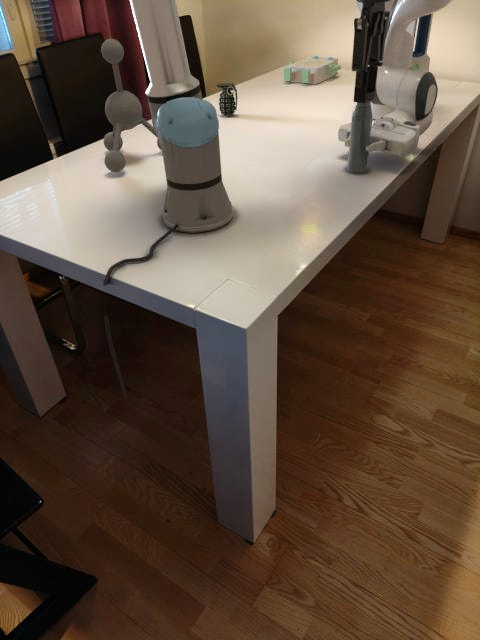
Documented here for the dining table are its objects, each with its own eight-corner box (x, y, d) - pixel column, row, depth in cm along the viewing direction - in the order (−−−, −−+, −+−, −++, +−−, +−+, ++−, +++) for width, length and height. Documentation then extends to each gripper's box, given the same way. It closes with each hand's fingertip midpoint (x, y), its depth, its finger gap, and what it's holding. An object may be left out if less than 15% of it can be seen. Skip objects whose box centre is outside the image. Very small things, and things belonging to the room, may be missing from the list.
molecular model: (189, 163, 134) (174, 38, 115) (109, 178, 128) (80, 49, 110) (167, 139, 151) (151, 28, 133) (95, 151, 145) (69, 36, 127)
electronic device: (396, 96, 178) (410, -2, 160) (386, 91, 184) (398, -4, 166) (427, 92, 181) (443, -5, 162) (416, 87, 186) (431, -6, 168)
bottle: (349, 165, 127) (356, 91, 116) (368, 167, 126) (376, 91, 115) (345, 172, 124) (352, 96, 113) (364, 174, 122) (373, 97, 111)
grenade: (217, 117, 168) (214, 86, 162) (221, 112, 172) (219, 82, 166) (235, 117, 166) (233, 86, 160) (239, 113, 171) (238, 82, 165)
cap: (377, 99, 113) (378, 91, 112) (362, 102, 112) (363, 94, 111) (365, 95, 117) (366, 87, 115) (350, 98, 115) (351, 90, 114)
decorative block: (306, 54, 217) (347, 57, 207) (305, 70, 221) (345, 73, 211) (275, 65, 201) (318, 69, 191) (275, 82, 205) (317, 87, 195)
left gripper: (376, -18, 93) (363, 110, 107) (409, -26, 104) (393, 92, 118) (340, -18, 96) (332, 106, 111) (376, -25, 107) (364, 89, 122)
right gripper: (357, 113, 132) (324, 125, 125) (426, 126, 120) (395, 141, 112) (354, 136, 136) (323, 150, 128) (421, 152, 124) (391, 168, 116)
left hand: (364, 99), depth 114 cm, fingers closed on cap, 4 cm apart
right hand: (357, 146), depth 120 cm, fingers closed on bottle, 5 cm apart
